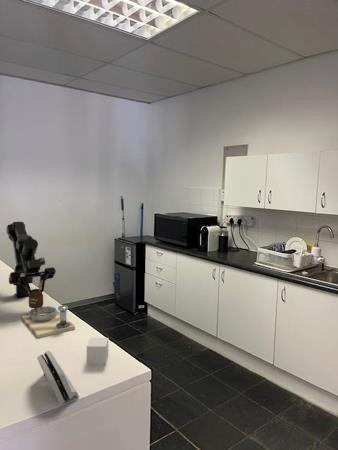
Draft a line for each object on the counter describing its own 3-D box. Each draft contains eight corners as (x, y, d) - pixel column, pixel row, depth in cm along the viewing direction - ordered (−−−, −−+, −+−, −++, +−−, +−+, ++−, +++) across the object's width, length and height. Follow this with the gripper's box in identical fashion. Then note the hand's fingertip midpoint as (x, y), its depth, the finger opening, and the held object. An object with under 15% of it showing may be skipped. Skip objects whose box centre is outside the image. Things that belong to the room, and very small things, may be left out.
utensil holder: (36, 302, 149) (36, 276, 148) (46, 305, 147) (46, 278, 145) (25, 307, 144) (25, 279, 143) (36, 309, 141) (35, 282, 140)
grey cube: (90, 355, 110) (90, 337, 110) (108, 355, 111) (108, 337, 110) (86, 364, 105) (86, 346, 104) (105, 364, 105) (106, 346, 104)
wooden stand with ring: (21, 318, 138) (21, 298, 137) (55, 311, 147) (55, 292, 146) (37, 338, 121) (37, 315, 120) (74, 329, 130) (74, 307, 129)
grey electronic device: (79, 398, 88) (66, 367, 85) (62, 409, 86) (48, 379, 83) (61, 368, 102) (49, 341, 99) (46, 378, 99) (33, 350, 96)
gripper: (9, 253, 140) (16, 286, 133) (54, 249, 151) (63, 279, 144) (5, 268, 147) (12, 299, 140) (48, 263, 159) (56, 292, 151)
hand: (36, 292), depth 144 cm, fingers closed on utensil holder, 5 cm apart
